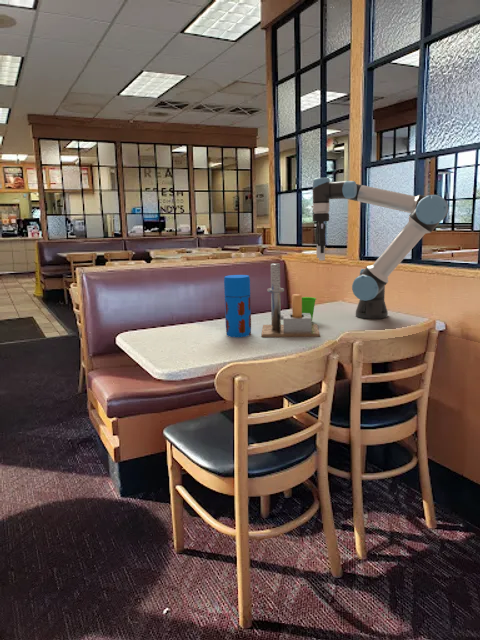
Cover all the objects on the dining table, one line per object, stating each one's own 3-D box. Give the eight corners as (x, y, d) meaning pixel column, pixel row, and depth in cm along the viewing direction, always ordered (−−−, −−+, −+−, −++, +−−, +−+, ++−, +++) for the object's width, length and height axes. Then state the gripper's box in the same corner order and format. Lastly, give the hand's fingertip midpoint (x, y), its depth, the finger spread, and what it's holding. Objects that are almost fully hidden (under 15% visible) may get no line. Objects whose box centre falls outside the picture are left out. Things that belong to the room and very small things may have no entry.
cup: (315, 319, 233) (315, 296, 231) (316, 323, 224) (316, 300, 222) (296, 319, 234) (296, 297, 232) (297, 323, 225) (296, 300, 223)
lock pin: (301, 328, 211) (301, 294, 208) (302, 330, 207) (302, 295, 204) (292, 328, 211) (292, 294, 208) (292, 330, 207) (292, 295, 204)
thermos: (254, 332, 212) (253, 274, 207) (246, 338, 202) (245, 278, 197) (231, 331, 215) (229, 274, 210) (222, 336, 205) (220, 277, 200)
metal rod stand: (316, 326, 218) (316, 261, 212) (319, 336, 201) (319, 265, 195) (263, 327, 220) (261, 262, 214) (261, 337, 203) (260, 267, 197)
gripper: (311, 213, 237) (311, 257, 241) (314, 212, 212) (314, 261, 217) (326, 212, 236) (326, 256, 240) (331, 212, 212) (331, 261, 216)
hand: (320, 259), depth 229 cm, fingers open, 13 cm apart
